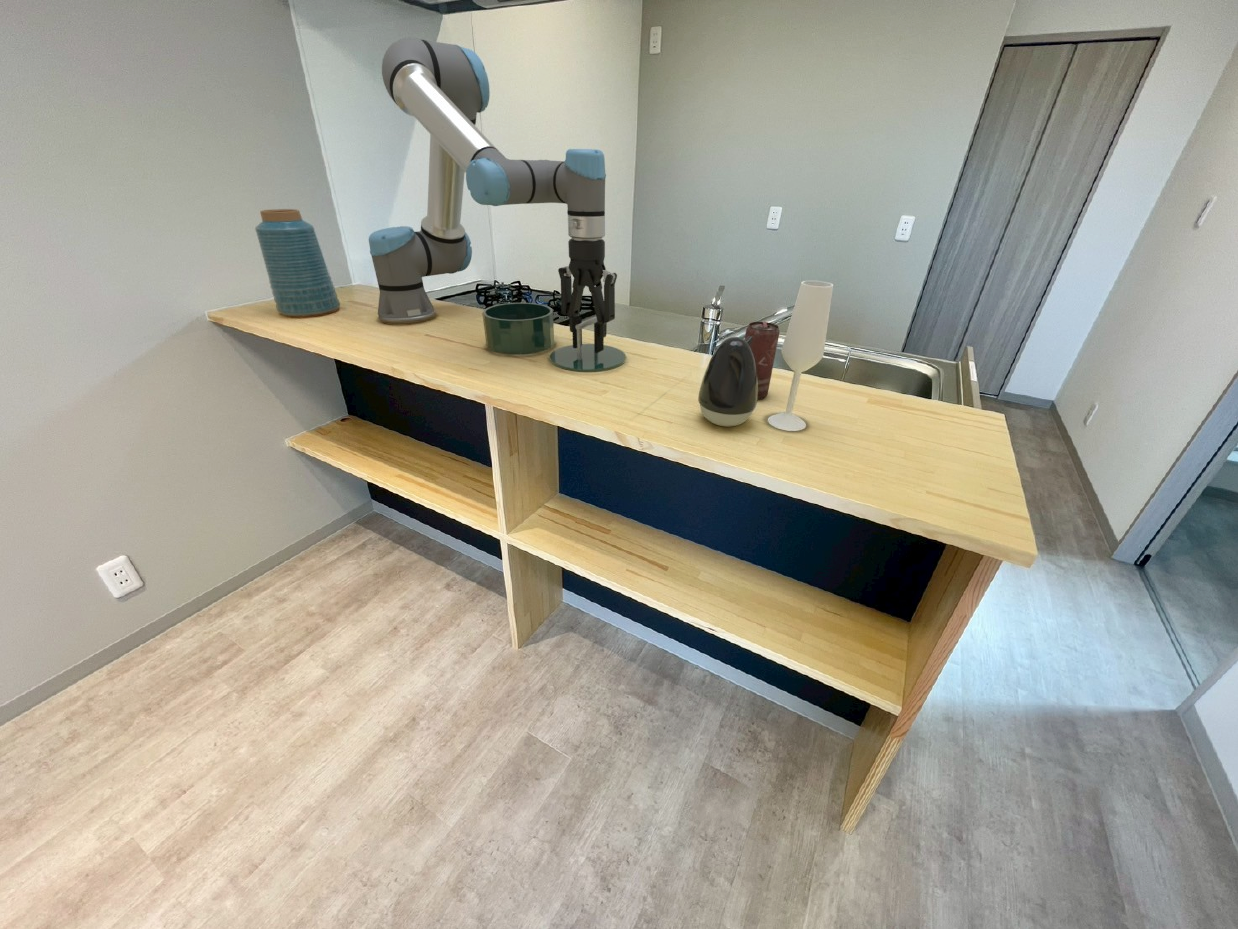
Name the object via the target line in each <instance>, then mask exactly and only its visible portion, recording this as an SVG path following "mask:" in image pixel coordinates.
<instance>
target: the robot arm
mask: <svg viewBox="0 0 1238 929" xmlns="http://www.w3.org/2000/svg"><path fill="white" fill-rule="evenodd" d="M381 76H382V81H383V85H384V87H385V90H386V92H387V93H388V96H389V97H390V98H391V100H392V101H393V102H394V104H395V105H396V106H397V107H398V108H399V109H400V110H401V111H402V112H403V113H405V114H406V115H408V116H411V117H414V118H415V119H416V120H417V121H418V122H419V124H420V125H421V126H422V127H423V128H424V129H425V130H426V131H427V132H428V134H429V162H428V183H427V184H428V187H427V190H428V191H427V209H426V210H427V214H426V216H425V217H422V219H421V221H420V230H419V231H415V230H414V228H413V227H412V226H407V225H405V226H403V225H401V226H392V227H386V228H382V229H378V230H375V231H373V232H371V233H370V234H369V236H368V244H369V245H368V246H369V254H370V256H371V260H372V265H373V269H374V272H375V277H376V282H377V285H378V291H379V297H378V305H377V316H378V321H379V322H380V323H383V324H387V325H395V326H398V325H399V326H401V325H402V326H403V325H415V324H421V323H425V322H429V321H431V320H434V319H435V318H436V311H435V307H434V305H433V303H432V301H431V300H430V297H429V296H428V294H427V292H426V290H425V287H424V282H423V281H424V280H423V278H425V277H432V276H438V275H439V276H440V275H445V274H452V275H453V274H455V273H459V272H463V271H465V270H466V269H467V268H468V267H469V265H470V263H471V261H472V257H473V247H472V246H471V244H472V241H471V239H470V236H469V235H468V233H467V232H466V228H465V226H463V224H462V223H461V219H462V208H463V207H462V206H463V196H464V186H465V185H464V184H465V182H466V187H467V190H468V191H469V193H470V196H471V198H472V199H473V201H474V202H476V203H477V204H479V205H481V206H493V207H501V206H510V205H527V204H529V205H530V204H566V206H567V211H566V212H567V214H566V215H567V234H568V237H570V238H569V239H568V240H567V241H568V242H567V243H568V244H567V245H568V258H569V264H568V265H567V266H563V267H559V268H558V269H557V271H558V275H559V279H560V303H561V304H560V308H561V309H560V310H561V314H562V315H565V316H567V317H568V319H569V320H568V321H569V332H570V333H572V334H571V335H572V345H573V348H577V330H576V328H575V326H576V325H577V324H580V323H582V322H583V320H582V318H583V317H581V313H580V311H581V310H580V309H581V305H582V300H583V294H584V291H585V290H584V289H585V288H586V287H587V289H588V291H589V292H590V295H591V299H592V303H593V307H594V312H595V317H597V322H596V323H595V324H593V344H594V353H598V352H600V351H602V350H604V345H605V344H604V343H605V342H604V338H606V337H607V335H608V334H607V328H608V327H607V326H608V325H607V324H608V323H609V322H612V321H614V320H616V319H615V318H616V282H617V278H618V274H617V273H616V272H611V271H608V270H607V269H606V265H605V258H606V242H605V240H604V237H605V236H606V178H607V174H606V162H605V161H606V160H605V154H604V152H603V151H602V150H601V149H594V148H593V149H592V148H591V149H590V148H569V149H566V152H565V159H564V160H550V159H509V158H507V157H506V156H505V155H504V154H503V153H502V152H501V151H500V150H499V149H498V148H497V147H496V146H495V145H494V144H493V143H492V142H491V140H489V139H488V138H487V137H486V136H485V134H483V132H481V130H480V129H479V128H478V127H477V126H476V123H477V114H480V113H482V112H484V111H486V109H487V107H488V106H489V102H490V94H491V92H490V82H489V77H488V73H487V71H486V68H485V65H484V63H483V61H482V59H481V58H480V56H479V55H478V54H477V53H476V52H475V51H474V50H472V49H470V48H467V47H463V46H460V45H458V44H452V43H444V42H438V41H433V40H426V39H420V38H417V37H402V38H399V39H397V40H395V41H393V42H392V43H391V44H390V45H389V47H387V49H386V50H385V52H384V54H383V58H382V62H381ZM572 278H573V279H572ZM602 279H603V280H602ZM572 280H573V281H572ZM602 282H603V283H604V284H602ZM602 289H603V290H602ZM580 330H581V346H582V344H583V329H580Z"/></svg>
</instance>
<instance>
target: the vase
mask: <svg viewBox="0 0 1238 929" xmlns="http://www.w3.org/2000/svg"><path fill="white" fill-rule="evenodd" d="M259 214H260V217H261V222H260V223H259V224H257V225H256V226H255V227H254V231H255V233H256V236H257V240H258V244H259V248H260V252H261V255H262V259H263V262H264V265H265V269H266V273H267V276H268V282H269V284H270V289H271V294H272V296H273V300H274V303H275V307H276V308H275V309H276V311H277V312H278V314H281V315H283V316H284V317H288V318H289V317H290V318H298V319H299V318H300V319H301V318H313V317H314V318H315V317H321V316H325V315H329V314H332V313H335V312H336V311H337V310H338V309H339V308H340V306H341V303H340V300H339V298H338V293H337V292H336V287H335V286H334V281H333V280H332V276H331V274H330V272H329V269H328V264H327V262H326V259H325V256H324V253H323V249H322V248H321V245H320V241H319V238H318V235H317V232H316V230H315V226H314V225H313V224H311V223H309V222H307V221H305V219H303V217H302V214H301V211H300V210H299V209H294V208H292V209H291V208H275V209H273V208H272V209H263V210H260V213H259Z"/></svg>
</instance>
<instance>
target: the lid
mask: <svg viewBox="0 0 1238 929" xmlns="http://www.w3.org/2000/svg"><path fill="white" fill-rule="evenodd" d="M596 322H597V317H596V316H595V317H592V318H590V319H587V320H584V321H582V323H580V324H577V325H576V326H575V328H576V330H577V348H573V344H570V345H565V346H562V347H558V348H556V349H555V350H553V351H552V352H551V353H550V354H549V361H550V363H551V364H552V365H554V366H555V367H557V368H560V369H563V370H565V371H566V370H567V371H572V372H579V373H596V372H604V371H610V370H613V369H616V368H619V367H621V366H622V365H624V364H625V363H626V360H627V355H626V353H625V352H624V351H623V350H621V349H620V348H616V347H614V346H611V345H607V344H604V350H602V351H600V352H598V353H594V343H582V346H581V330H580V329H582V330H583V329H585V328H588V327H590V326H592V325H594V324H595V323H596Z"/></svg>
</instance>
